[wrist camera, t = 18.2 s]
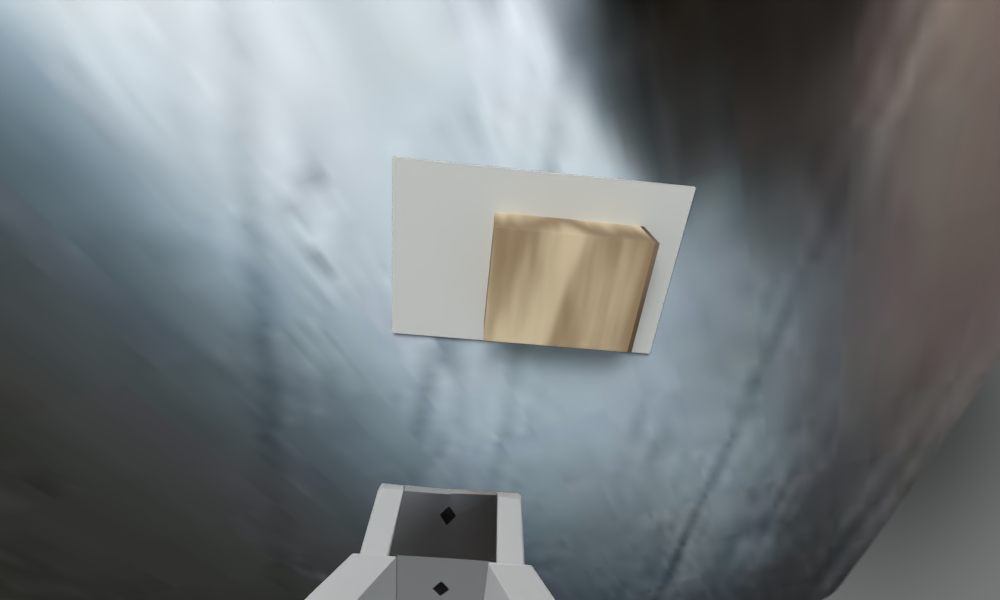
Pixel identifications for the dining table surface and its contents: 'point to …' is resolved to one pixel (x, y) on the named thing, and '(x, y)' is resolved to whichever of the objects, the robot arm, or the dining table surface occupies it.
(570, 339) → the oak slab
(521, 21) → the dining table surface
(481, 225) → the felt mat
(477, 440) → the dining table surface
